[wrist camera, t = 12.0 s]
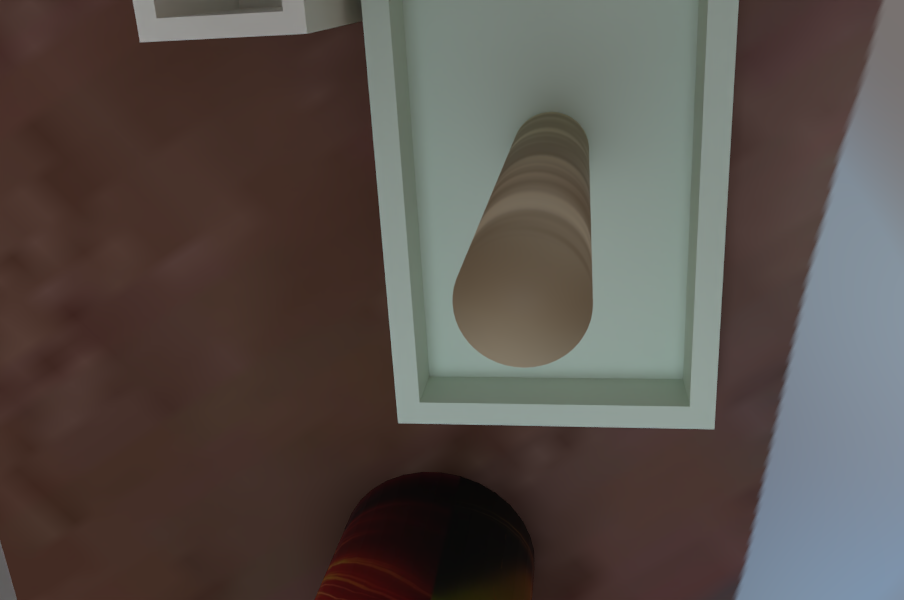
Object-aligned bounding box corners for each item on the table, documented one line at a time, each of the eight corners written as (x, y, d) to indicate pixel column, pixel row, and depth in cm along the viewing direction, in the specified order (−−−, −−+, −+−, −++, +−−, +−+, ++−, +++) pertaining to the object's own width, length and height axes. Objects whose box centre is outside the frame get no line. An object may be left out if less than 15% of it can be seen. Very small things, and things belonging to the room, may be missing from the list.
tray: (370, -144, 32) (347, -157, 29) (731, -174, 30) (749, -191, 27) (413, 386, 40) (398, 422, 37) (703, 389, 38) (714, 429, 35)
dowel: (511, 113, 34) (448, 237, 18) (589, 110, 33) (593, 235, 18) (513, 188, 35) (456, 367, 19) (588, 186, 34) (592, 368, 19)
